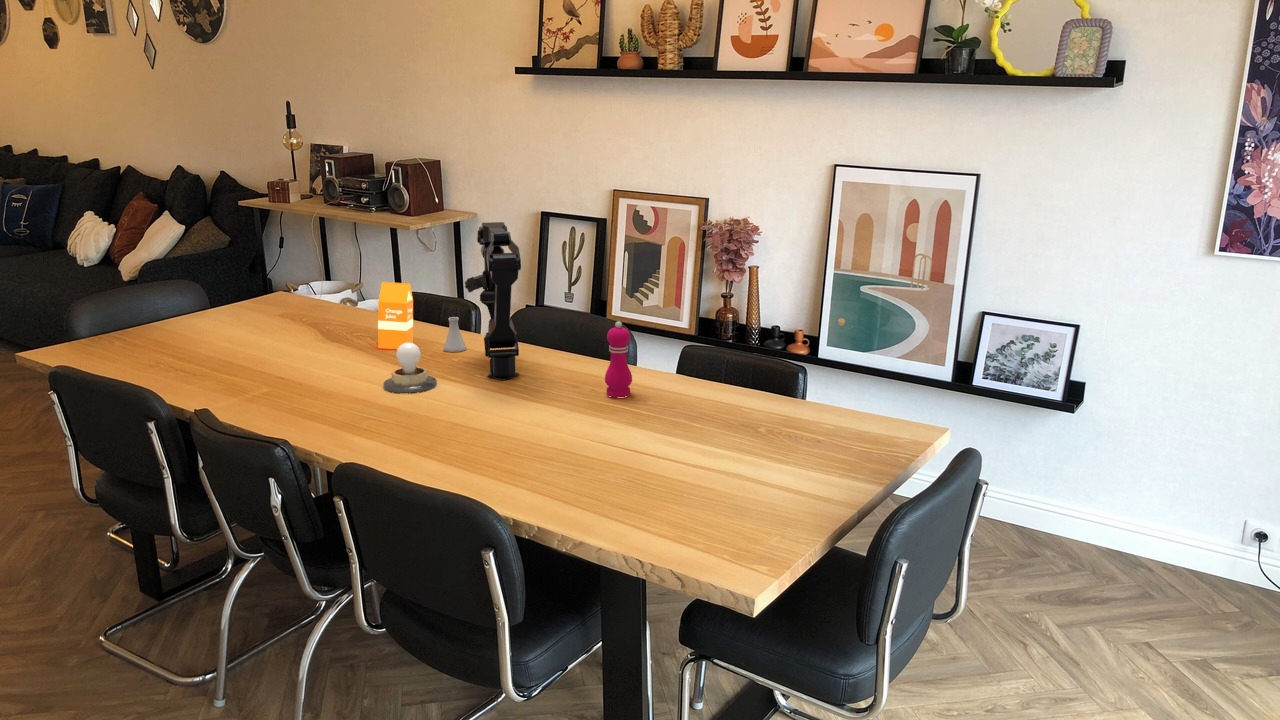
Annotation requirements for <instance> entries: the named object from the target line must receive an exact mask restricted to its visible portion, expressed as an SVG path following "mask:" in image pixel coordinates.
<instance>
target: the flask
mask: <svg viewBox="0 0 1280 720" xmlns="http://www.w3.org/2000/svg"><path fill="white" fill-rule="evenodd" d="M448 322H449V324H448V325H449V327H448V332H447V335H446V338H445V342H444V346H443V352H449V353H456V352H457V353H460V352H463V351H465V350H467V346H466V343H465V342H464V339H463V336H462V333H461V331H460V328H459V317H458V316H452V317H451V316H450V317H448Z"/></svg>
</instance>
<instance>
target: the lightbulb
mask: <svg viewBox="0 0 1280 720" xmlns="http://www.w3.org/2000/svg"><path fill="white" fill-rule="evenodd" d="M395 354H396V358H397V359H396V360H397V362H398V363H399V364H400V365H401V366H402V367H403V371H404V374H405V376H411V375H414V374H415V369H416V367H417V366H418V363H419V361H420V360H421V354H422V353H421V350H420V347H419V346H418V345H417V344H415V343H404V344H402V345H400V346H399V348H398V349H396V353H395ZM402 367H401V368H402Z"/></svg>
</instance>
